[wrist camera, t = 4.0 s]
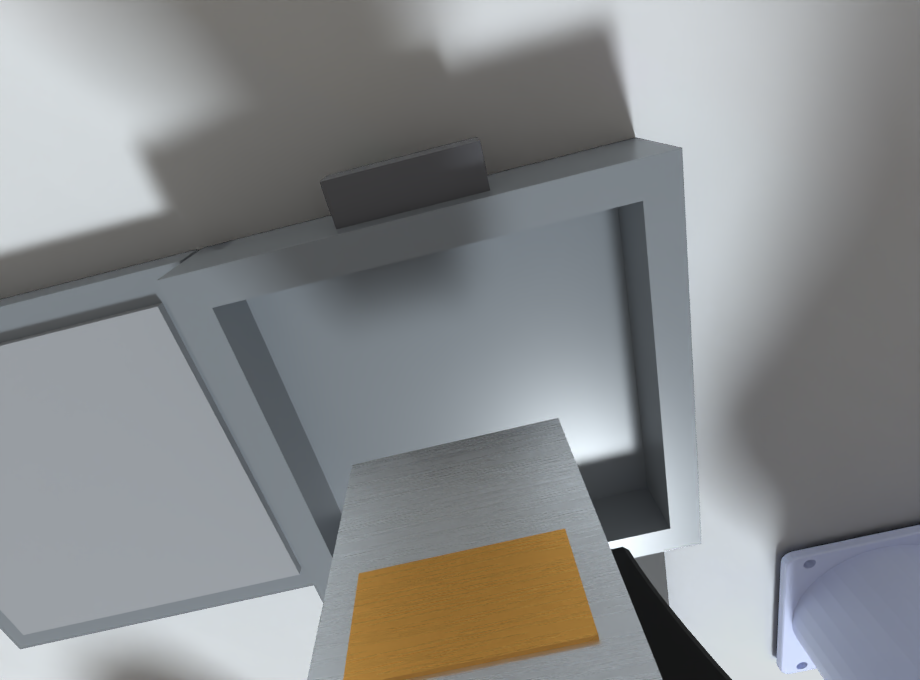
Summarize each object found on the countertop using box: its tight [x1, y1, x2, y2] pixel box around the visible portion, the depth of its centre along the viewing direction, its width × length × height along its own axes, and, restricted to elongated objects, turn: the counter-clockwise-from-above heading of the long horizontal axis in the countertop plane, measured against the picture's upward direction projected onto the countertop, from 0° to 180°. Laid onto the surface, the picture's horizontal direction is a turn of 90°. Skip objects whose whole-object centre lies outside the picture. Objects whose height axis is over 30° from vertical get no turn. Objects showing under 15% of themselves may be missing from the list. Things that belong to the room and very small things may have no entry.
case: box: [0, 137, 702, 649], centre depth 17 cm, size 26×14×3 cm, turn 103°
